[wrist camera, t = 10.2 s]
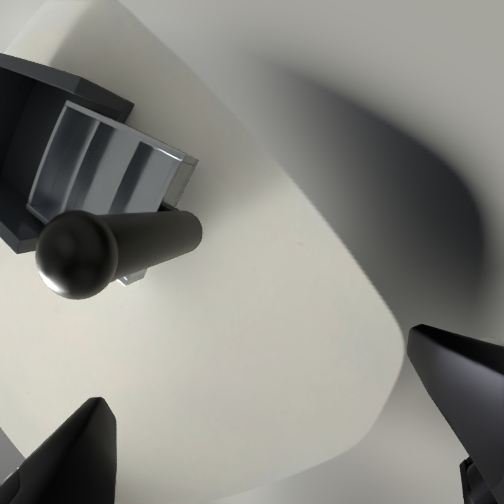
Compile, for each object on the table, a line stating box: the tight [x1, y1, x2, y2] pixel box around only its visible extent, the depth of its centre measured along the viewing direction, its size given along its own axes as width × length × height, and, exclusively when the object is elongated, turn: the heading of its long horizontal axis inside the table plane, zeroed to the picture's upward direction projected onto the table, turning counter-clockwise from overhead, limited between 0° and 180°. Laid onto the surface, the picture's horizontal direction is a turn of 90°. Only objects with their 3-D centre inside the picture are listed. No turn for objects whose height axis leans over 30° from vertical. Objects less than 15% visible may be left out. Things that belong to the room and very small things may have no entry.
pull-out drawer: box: [26, 100, 202, 300], centre depth 13 cm, size 13×8×11 cm, turn 61°
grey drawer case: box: [0, 53, 134, 254], centre depth 18 cm, size 12×11×6 cm
